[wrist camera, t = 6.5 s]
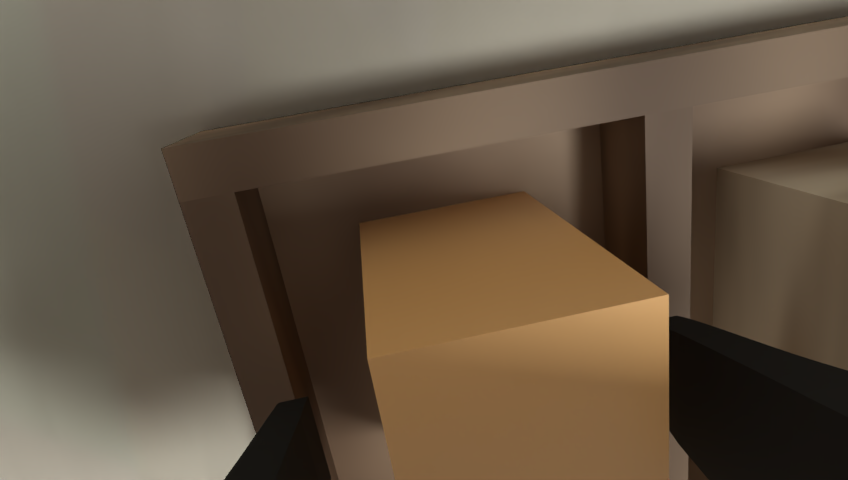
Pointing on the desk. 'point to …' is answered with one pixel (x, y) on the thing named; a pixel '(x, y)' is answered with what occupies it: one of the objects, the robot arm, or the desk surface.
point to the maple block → (785, 252)
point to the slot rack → (485, 196)
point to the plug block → (513, 347)
